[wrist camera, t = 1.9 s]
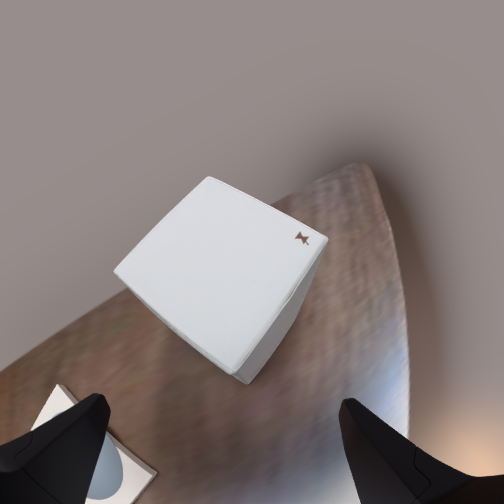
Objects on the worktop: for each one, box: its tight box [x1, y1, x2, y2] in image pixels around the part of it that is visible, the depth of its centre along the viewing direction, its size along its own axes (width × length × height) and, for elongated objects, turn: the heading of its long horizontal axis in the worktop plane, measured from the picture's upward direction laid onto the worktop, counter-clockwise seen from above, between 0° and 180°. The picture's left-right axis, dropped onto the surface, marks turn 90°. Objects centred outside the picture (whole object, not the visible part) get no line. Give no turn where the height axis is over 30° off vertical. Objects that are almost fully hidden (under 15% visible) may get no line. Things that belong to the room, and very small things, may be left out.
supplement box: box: [114, 176, 328, 385], centre depth 17 cm, size 7×7×13 cm
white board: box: [31, 384, 157, 504], centre depth 12 cm, size 12×24×1 cm, turn 149°
